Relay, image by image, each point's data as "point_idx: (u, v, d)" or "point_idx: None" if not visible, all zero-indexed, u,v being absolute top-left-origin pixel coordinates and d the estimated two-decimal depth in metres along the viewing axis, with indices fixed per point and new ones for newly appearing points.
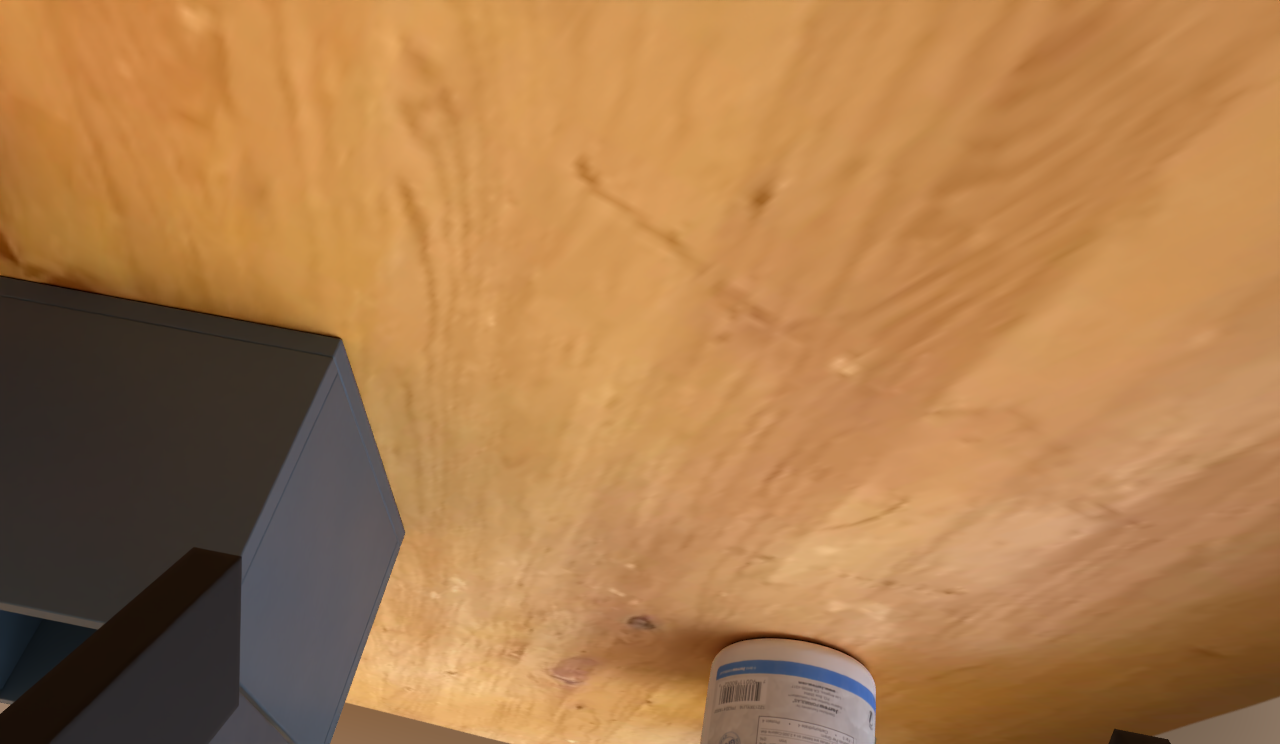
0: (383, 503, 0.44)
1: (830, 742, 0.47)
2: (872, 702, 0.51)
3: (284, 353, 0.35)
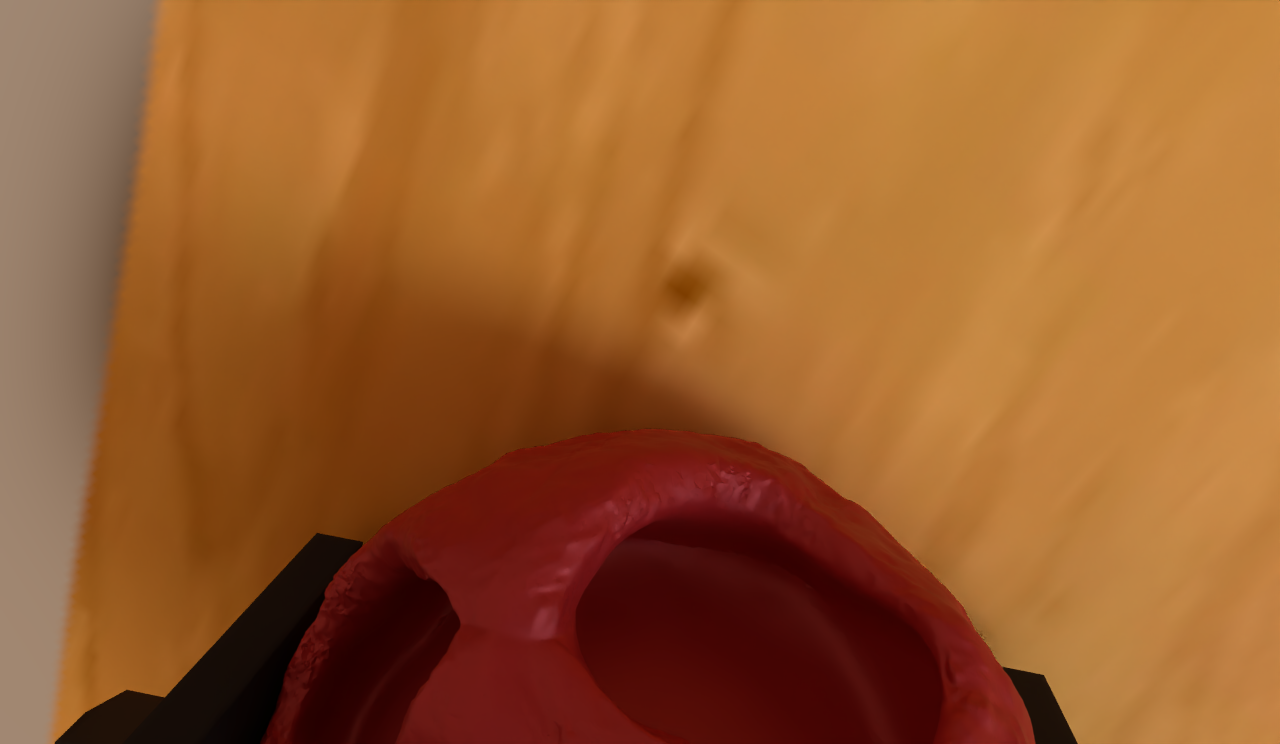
0: None
1: None
2: None
3: None
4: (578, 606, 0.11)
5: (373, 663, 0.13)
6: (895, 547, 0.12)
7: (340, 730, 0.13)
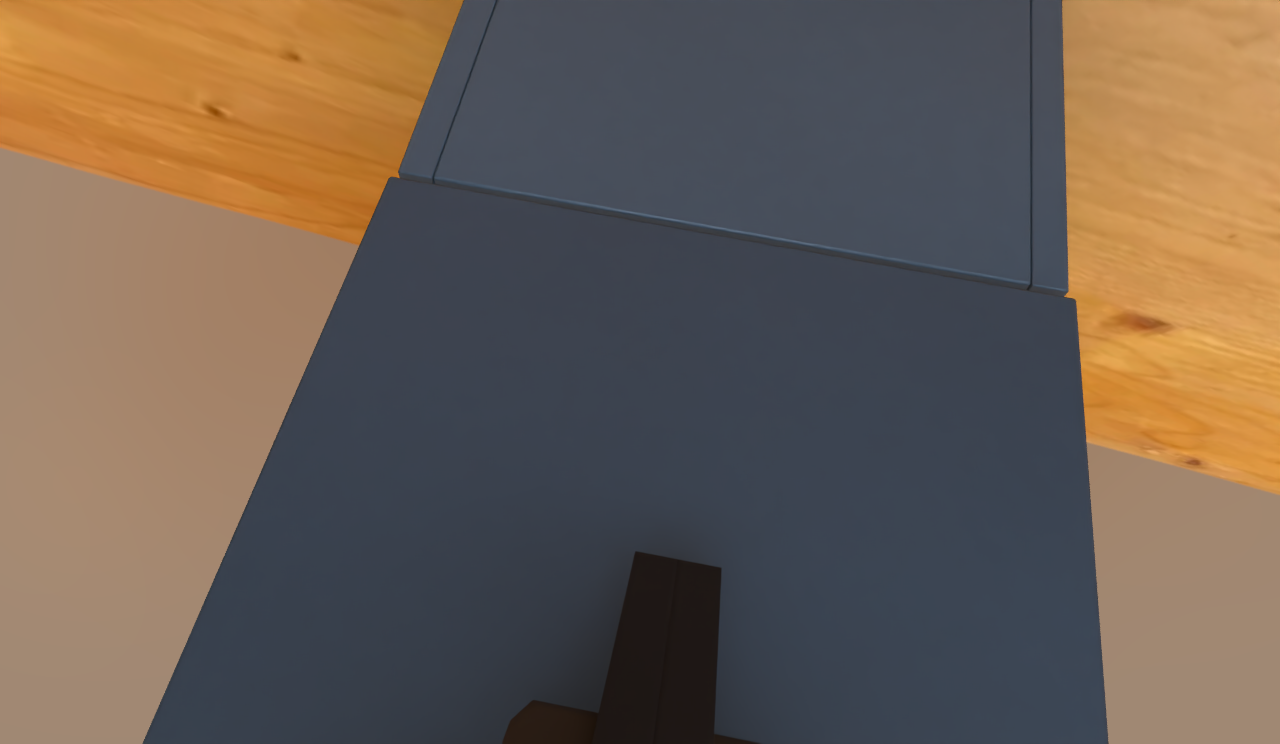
0: None
1: None
2: None
3: None
4: None
5: None
6: None
7: None
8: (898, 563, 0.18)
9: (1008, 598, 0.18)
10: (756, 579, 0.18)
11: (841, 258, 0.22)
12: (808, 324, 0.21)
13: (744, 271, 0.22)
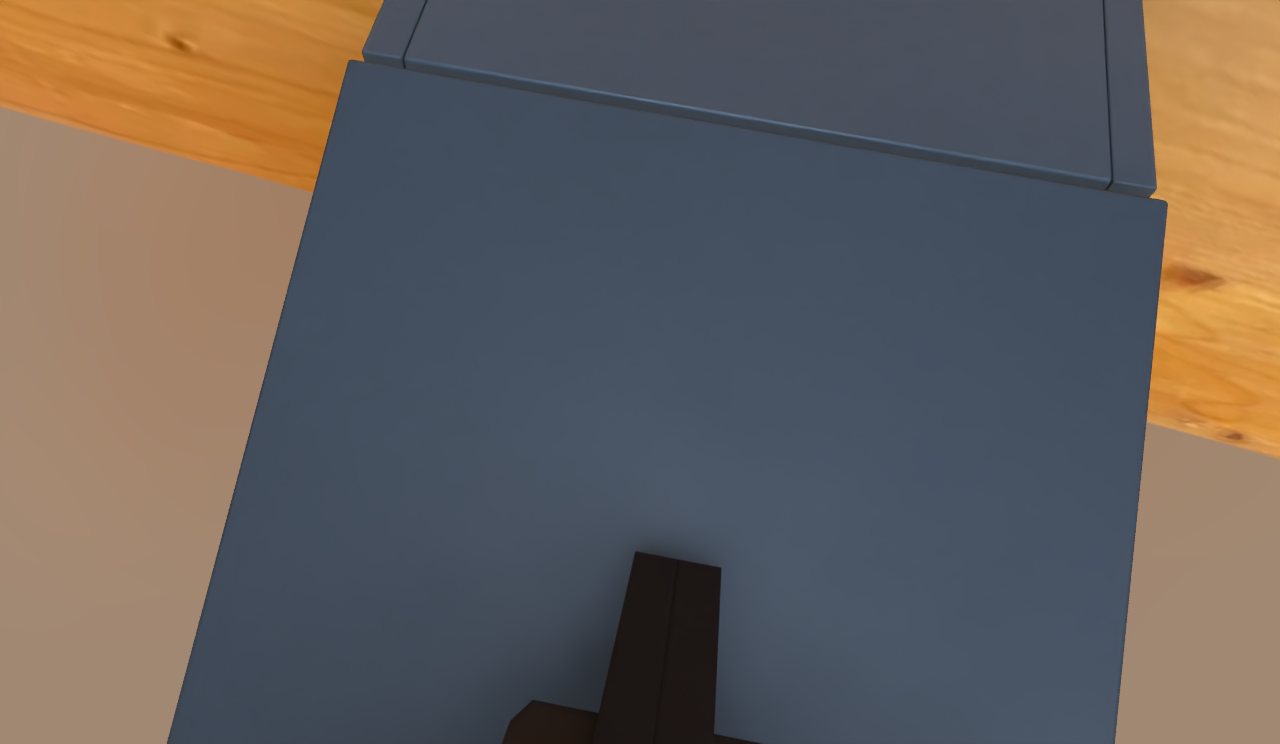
0: None
1: None
2: None
3: None
4: None
5: None
6: None
7: None
8: (918, 537, 0.17)
9: (1033, 576, 0.17)
10: (765, 557, 0.17)
11: (886, 154, 0.19)
12: (840, 247, 0.18)
13: (769, 177, 0.19)
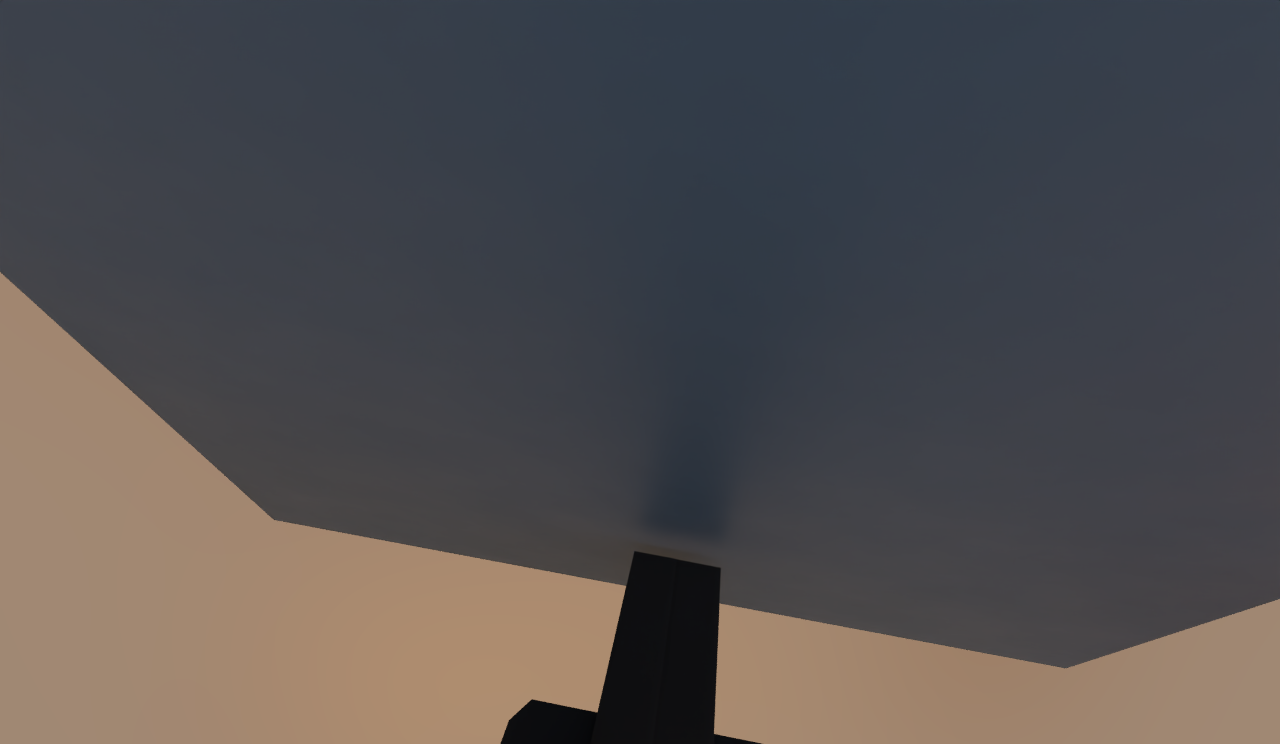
0: None
1: None
2: None
3: None
4: None
5: None
6: None
7: None
8: (1080, 493, 0.11)
9: (1251, 534, 0.11)
10: (831, 476, 0.12)
11: None
12: (1105, 180, 0.06)
13: (915, 8, 0.05)
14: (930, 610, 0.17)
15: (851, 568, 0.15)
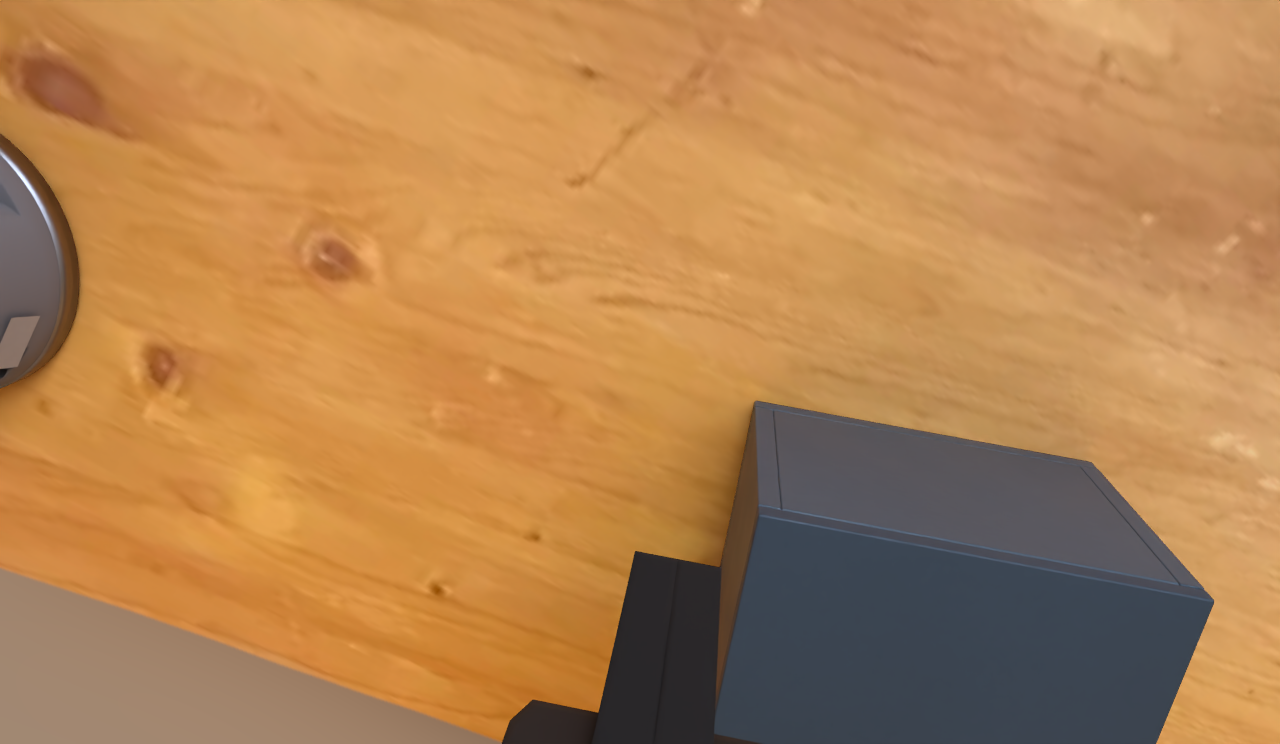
0: (991, 450, 0.45)
1: None
2: None
3: (748, 441, 0.46)
4: None
5: None
6: None
7: None
8: None
9: None
10: None
11: (1059, 573, 0.34)
12: (1026, 617, 0.35)
13: (992, 583, 0.34)
14: None
15: None
